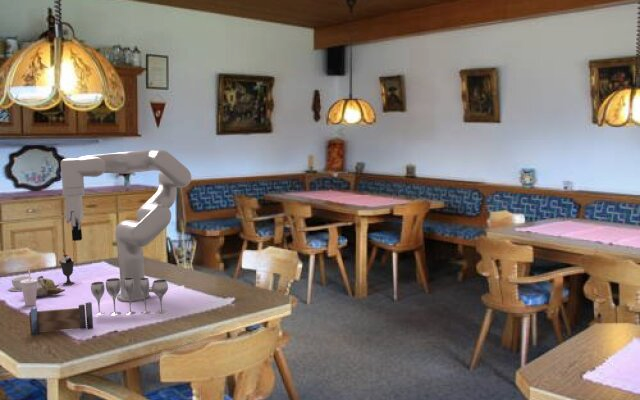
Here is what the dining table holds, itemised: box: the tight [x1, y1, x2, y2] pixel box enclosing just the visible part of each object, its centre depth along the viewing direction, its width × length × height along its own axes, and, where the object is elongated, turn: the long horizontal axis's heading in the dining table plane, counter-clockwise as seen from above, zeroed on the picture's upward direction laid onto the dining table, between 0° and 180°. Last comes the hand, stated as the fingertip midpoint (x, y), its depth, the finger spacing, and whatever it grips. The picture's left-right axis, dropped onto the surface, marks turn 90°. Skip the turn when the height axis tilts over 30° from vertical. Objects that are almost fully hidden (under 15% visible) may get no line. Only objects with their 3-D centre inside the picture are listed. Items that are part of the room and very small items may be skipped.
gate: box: [28, 304, 87, 333], centre depth 219 cm, size 18×2×8 cm, turn 102°
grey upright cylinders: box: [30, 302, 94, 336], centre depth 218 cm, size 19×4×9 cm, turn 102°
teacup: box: [8, 275, 33, 292], centre depth 275 cm, size 10×10×5 cm
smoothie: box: [20, 269, 38, 307], centre depth 250 cm, size 6×6×14 cm
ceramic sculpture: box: [36, 275, 66, 297], centre depth 263 cm, size 11×9×15 cm
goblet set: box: [90, 277, 169, 317], centre depth 237 cm, size 28×6×13 cm, turn 93°
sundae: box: [58, 249, 75, 286], centre depth 281 cm, size 7×7×15 cm
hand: (77, 240), depth 240 cm, fingers closed
